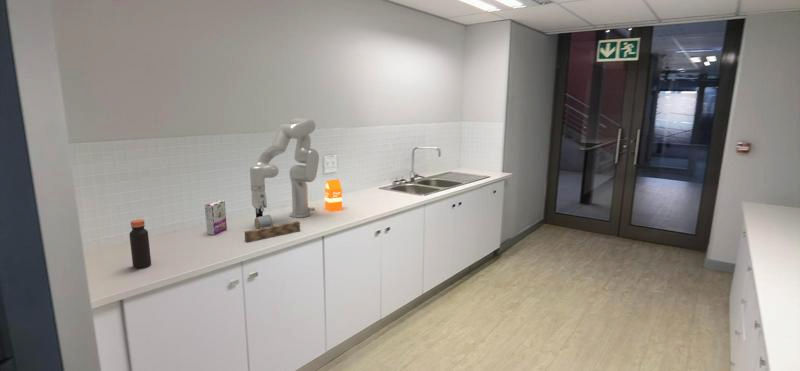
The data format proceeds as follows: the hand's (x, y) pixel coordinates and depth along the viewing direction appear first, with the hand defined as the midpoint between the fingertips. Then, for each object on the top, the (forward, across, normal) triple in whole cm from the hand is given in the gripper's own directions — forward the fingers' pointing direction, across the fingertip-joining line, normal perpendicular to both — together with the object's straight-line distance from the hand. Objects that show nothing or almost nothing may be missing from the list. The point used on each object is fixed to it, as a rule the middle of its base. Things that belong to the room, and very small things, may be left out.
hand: (259, 219), depth 244 cm
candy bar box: (+4, +5, +22) cm, 23 cm away
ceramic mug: (+4, -7, 0) cm, 8 cm away
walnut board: (+4, -21, +2) cm, 21 cm away
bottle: (+4, -24, +64) cm, 68 cm away
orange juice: (+4, +7, -54) cm, 55 cm away
